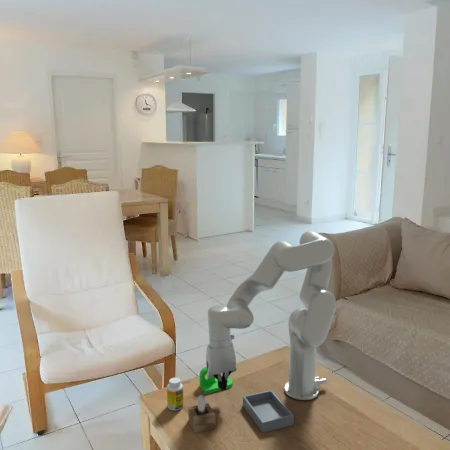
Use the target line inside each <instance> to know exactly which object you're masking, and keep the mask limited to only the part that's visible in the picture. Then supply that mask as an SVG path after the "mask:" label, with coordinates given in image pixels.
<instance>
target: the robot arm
mask: <svg viewBox="0 0 450 450" xmlns="http://www.w3.org/2000/svg"><path fill="white" fill-rule="evenodd" d="M335 250H336V249H335V245H334V244H333V242H332V241H331V240H330V239H328V238H327V237H326V236H323V235H322V234H321V233H318V232H315V231H313V230H308V231H307V230H306V231H305V232H303V233H302V235H300V238H299V244H298V245H293V244H291V243H290V242H287V241H285V240H279V241H276V242H275V243H274V244H273V245H272V246H271V247H270V248H269V250H268V251H267V253H266V255H264V257H263V259H262V260H261V262H260V264H259V265H258V266H257V268H256V269H255V271H254V272H253V273H252V275H250V276H249V277H247V278H246V279H245V280H243V282H242V283H240V284H239V286H237V288H236V289H235V291H234V292H233V294H232V295H231V297H230V298H229V300H228V302H227V303H226V305H223V304H221V305H220V304H216V305H213V306H211V307H210V308H208V310H207V321H208V323H207V324H208V337H209V339H208V341H209V343H208V344H207V345H206V352H205V353H206V354H205V367H206V368H207V370H208V372H207V374H206V375H207V377H215V379H218V387H219V388H220V389H221V390H220V392H224V391H227V389H226V386H227V379H228V377H230V375H231V374H232V373H234V372H236V371H237V358H236V357H237V356H236V352H235V348H234V344H233V341H232V340H234V339H235V337H236V336H235V335H234V334H231V329H237V330H238V329H239V330H241V329H242V330H244V329H248V328H249V327H251V326H252V325H253V322H254V317H255V316H254V314H253V312H252V311H251V309H250V308H249V305H250V304H251V303H252V301H253V300H254V298H255V297H256V296H257V295H259V294H260V293H262V292H265V291H270V290H273V289H274V288H275V287H276V285H277V284H278V282H279V280H280V279H281V278H282V276H283V275H284V273H285V272H288V273H289V272H290V273H292V272H298V271H302V270H305V269H306V272H305V275H304V279H303V283H302V287H301V288H300V293H299V300H300V302H301V304H303V306H304V307H306V308H304V307H300V308H296V309H295V310H293V311H291V313H290V315H289V318H288V322H287V324H288V333H289V359H288V360H289V361H288V362H289V363H288V364H289V365H288V381H287V382H286V383H285V384H284V388H283V389H284V393H285V394H286V395H287V396H288V397H289V398H290V397H291V398H292V399H294V400H299V401H310V400H314V399H315V398H317V397H318V396H319V394H320V392H319V391H320V389H319V386H321V385H325V384H327V379H326V378H324V377H323V378H320V376H316V366H317V365H316V364H317V363H316V361H317V359H316V358H317V357H316V356H317V347H319V346H321V345H322V344H324V342H325V341H326V339H327V337H328V334H329V331H330V328H331V324H332V322H333V320H334V316H335V312H336V307H337V306H336V305H337V304H336V303H337V301H336V298H335V296H334V294H333V293H332V292H331V291H330V290H329V283H330V280H331V276H332V271H333V260H332V258H333V257H334V254H335Z"/></svg>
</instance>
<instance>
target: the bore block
mask: <svg viewBox="0 0 450 450" xmlns="http://www.w3.org/2000/svg"><path fill="white" fill-rule="evenodd" d="M187 409H188V414H187V415H188V422H189V425H190V427H191V429H192V431H193V433H194V434H197V433H202V432H206V431H210V430H215V429H216V413H215V412H214V410H213V408H212V407H211V405H210V403H209V402H207V403H206V402H205V414H203V415H198V404H197V405H194V406H189V407H187Z"/></svg>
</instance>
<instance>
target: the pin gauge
mask: <svg viewBox="0 0 450 450" xmlns="http://www.w3.org/2000/svg"><path fill="white" fill-rule="evenodd" d="M205 404H206V396H205V394H204V395H203V394H200V395H197V405H198V415H203V414H205Z"/></svg>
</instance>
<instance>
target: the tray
mask: <svg viewBox="0 0 450 450" xmlns="http://www.w3.org/2000/svg"><path fill="white" fill-rule="evenodd" d="M242 407H243V408H244V409H245V411H246V413H248V414H249V416H250V418H251V419H252V420H253V422H254V423H255V425H256V427H258V429H259V430H260V432H261V433H268V432H271V431H275V430H279V429H283V428H286V427H291V426H294V413H292V411H291V410H290V409H289V408H288V407H287V406H286V404H284V402H283V401H282V400H281V399H280V398H279V397H278V395H277V394H275V392H274V390H272V389H270V390H267V391H261V392H255V393H251V394H247V395H243V396H242Z"/></svg>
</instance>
